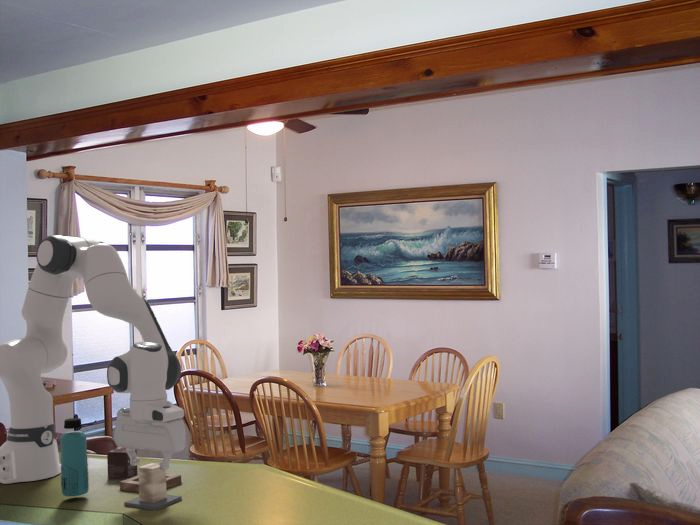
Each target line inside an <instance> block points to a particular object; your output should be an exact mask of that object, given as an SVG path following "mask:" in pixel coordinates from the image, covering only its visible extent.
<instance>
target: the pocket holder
mask: <svg viewBox="0 0 700 525" xmlns="http://www.w3.org/2000/svg"><path fill="white" fill-rule="evenodd" d="M181 483H182V475H181V474H174V473H167V472H166V490H167V489H169V488H171V487H175V486H177V485H179V484H181ZM119 490H120V491H128V492H135V493H139V474H138V475H134V476H132V477H130V478H128V479H124V480H121V481H119Z"/></svg>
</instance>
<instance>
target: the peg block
mask: <svg viewBox="0 0 700 525" xmlns="http://www.w3.org/2000/svg"><path fill="white" fill-rule="evenodd" d="M159 467H160V466H159V463H154V462H150V463H149V464H144V465H141V466H137V471H138V475H139V492H138V497H139V501H144V502H151V503H155V502H157V501H160V500H162V499H165V498H167V489H166V473H167V470H160V469H159Z"/></svg>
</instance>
